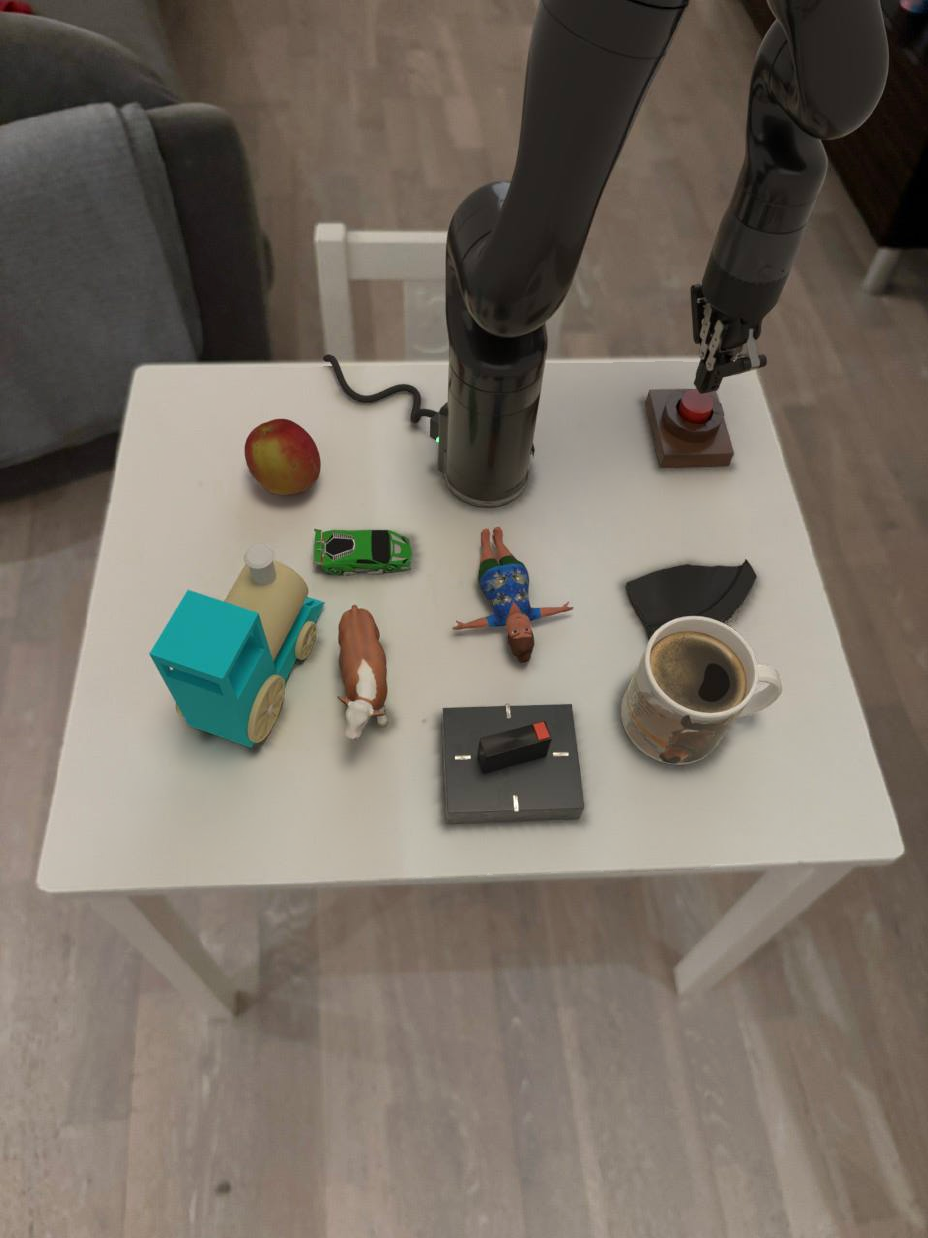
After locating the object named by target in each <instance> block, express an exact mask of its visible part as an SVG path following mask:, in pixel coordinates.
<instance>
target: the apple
mask: <svg viewBox="0 0 928 1238" xmlns="http://www.w3.org/2000/svg"><path fill="white" fill-rule="evenodd" d="M243 451H244V459H245V463H246V466H247V469H248V471H249V473H250V474H251V475H252V477H253V478H254V479H255V481H256V482H257V483H258V484H259V485H260V486H261V487H262V488H263V489H266V490H267V491H268V492H270V493H272V494H275V495H281V496H285V495H295V494H300V493H302V492H304V491H306V490H308V489H309V488H311V487H312V486H313V485H314V484H315V483H316V481H318V479H319V477H320V475H321V469H322V463H321V456H320V451H319V449H318V446H317V444H316V442H315V440H314V438H313V437H312V436H311V435H310V434H309V432H308V431H307V430H306V429H305V428H303V427H302V426H301V425H300V424H298V423H297V422H295V421H293V420H291V419H288V418H274V419H271V420H268V421H266V422H262V423H260V424H259V425H257V426H256V427H254V428H253V429H252V430H251V432H250V433H249V434H248V436H247V437H246V440H245V443H244V450H243Z"/></svg>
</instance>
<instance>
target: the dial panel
mask: <svg viewBox="0 0 928 1238" xmlns="http://www.w3.org/2000/svg"><path fill="white" fill-rule="evenodd" d="M441 716H442V717H441V725H442V726H441V727H442V729H441V730H442V751H443V773H444V774H443V775H444V798H445V800H444V801H445V821H446V822H445V823H446V824H466V823H467V824H468V823H495V822H519V821H520V822H521V821H547V820H549V821H550V820H572V819H573V820H574V819H575V820H576V819H580V818H581V816H582V813H583V811H584V810H585V802H584V793H583V784H582V783H583V782H582V777H581V776H582V775H581V768H580V759H579V752H578V742H577V736H576V735H577V734H576V726H575V719H574V718H575V717H574V709H573V704H572V703H560V704H557V703H556V704H529V705H510V703H505V705H496V706H495V705H494V706H493V705H490V706H460V707H459V706H457V707H443V708H442V715H441ZM542 721H545V722H546V724H547V727H548V729H549V732H550V735H551V737H552V741H551V744H550V747H549V750H548V753H547V756H546V757H542V758H538V759H535V760H531V761H528V762H524V763H521V764H517V765H514V766H510V767H506V768H503V769H499V770H496V771H492V772H489V773H485V774H483V772H482V769H481V766H480V763H479V760H478V757H477V754H478V747H479V740H480V738H484V737H487V736H491V735H495V734H498V733H502V732H506V731H509V730H513V729H517V728H520V727H524V726H528V725H531V724H535V723H539V722H542Z"/></svg>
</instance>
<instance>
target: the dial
mask: <svg viewBox="0 0 928 1238" xmlns="http://www.w3.org/2000/svg"><path fill="white" fill-rule="evenodd" d="M551 741H552V737H551V735H550V732H549V729H548V727H547V724H546V722H545V721H542V722H539V723H535V724H531V725H528V726H524V727H520V728H517V729H513V730H509V731H506V732H502V733H498V734H495V735H491V736H487V737H484V738H480V740H479V747H478V754H477V757H478V760H479V763H480V766H481V769H482V772H483V774H485V773H489V772H492V771H496V770H499V769H503V768H506V767H510V766H514V765H517V764H521V763H524V762H528V761H531V760H535V759H538V758H542V757H546V756H547V753H548V750H549V747H550V744H551Z"/></svg>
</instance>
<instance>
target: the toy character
mask: <svg viewBox="0 0 928 1238" xmlns="http://www.w3.org/2000/svg"><path fill="white" fill-rule="evenodd" d="M503 539H504V533H503V530H502V528H501V526H495V527H493V530H492V542H493V544H494V546H495V549H496V555H497V557H496V556H495V553H494V551H493V549H492V546H491V531H490V529H489V528H486V527H485V528H484V529H482V530H481V531H480V544H481V547H482V548H481V549H482V550H481V555H480V562H479V568H478V573H477V582H478V586H479V589H480V591H481V592H482V594H483V596H484V597H485V599H486V600H488V601H489V602H490V604H491V607H492V614H491V615H487V616H484V617H483V616H482V617H480V618H477V619H473V620H472V621H468V622H462V621H458V620H457V619H456V620H455V623H456V624H458V625H456V626H453V627H452V631H462V630H465V629H466V630H467V629H469V630H470V629H481V628H482V629H483V628H500V627H506V641H507V645H508V647H509V649H510V652H511V654H512V656H514V657H515V658H516V660H517V661H518V663H520V664H527V663H529V662H530V660H531V657H532V653H533V650H534V647H535V636H534V632H533V629H532V626H531V622H533V621H536V620H539V619H544V618H546V617H551V616H555V615H559V614H561V613H567V612H570V611H572V610H574V608H575V607H574V606H568V605H569V604H570V601H567V602H566V603H565V604H563V605H562V606H556V607H555V606H554V607H553V606H547V607H531V603H530V597H529V588H530V575H529V570H528V569H527V567H526V565H525V564H524V562H523V561H520V560H518V559H517V558H516V556H514V554H513V553H512V552H511V551H510V550H509V548H508V547H507V545H506V544H504V540H503Z"/></svg>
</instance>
